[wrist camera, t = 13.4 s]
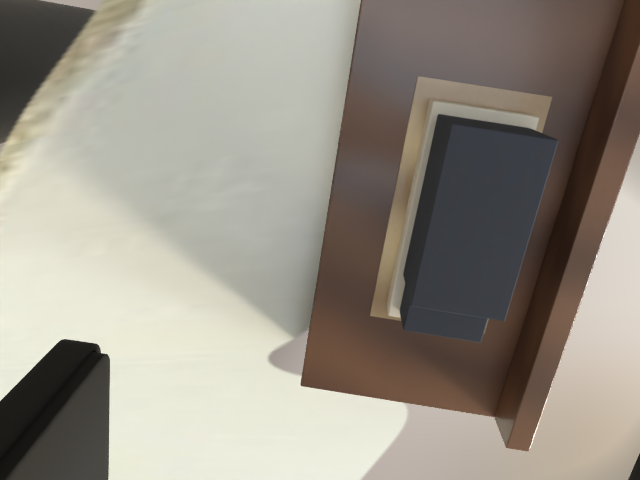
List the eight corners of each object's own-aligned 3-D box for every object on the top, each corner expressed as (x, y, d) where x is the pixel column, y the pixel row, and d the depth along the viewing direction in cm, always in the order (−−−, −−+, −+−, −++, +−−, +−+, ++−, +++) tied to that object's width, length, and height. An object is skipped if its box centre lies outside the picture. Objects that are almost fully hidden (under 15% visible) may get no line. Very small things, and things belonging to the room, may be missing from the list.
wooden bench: (368, -44, 25) (372, -75, 19) (614, -6, 25) (695, -26, 19) (306, 348, 33) (295, 414, 27) (496, 379, 33) (529, 452, 27)
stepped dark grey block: (429, 98, 23) (446, 107, 19) (531, 114, 23) (571, 127, 19) (386, 305, 27) (392, 353, 23) (474, 319, 27) (498, 370, 23)
